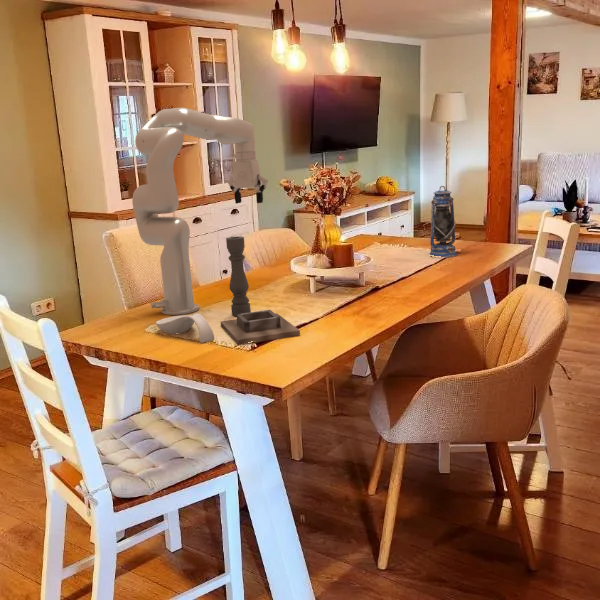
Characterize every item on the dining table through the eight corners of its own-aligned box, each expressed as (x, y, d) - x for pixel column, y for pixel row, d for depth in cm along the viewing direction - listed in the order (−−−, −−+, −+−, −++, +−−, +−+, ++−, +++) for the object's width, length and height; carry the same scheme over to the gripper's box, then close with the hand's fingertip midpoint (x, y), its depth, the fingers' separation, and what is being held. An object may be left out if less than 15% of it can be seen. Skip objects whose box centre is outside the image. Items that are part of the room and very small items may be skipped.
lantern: (444, 251, 311) (443, 184, 304) (465, 254, 301) (465, 184, 294) (420, 256, 302) (418, 187, 295) (441, 259, 292) (440, 188, 285)
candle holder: (252, 312, 224) (246, 235, 219) (249, 317, 219) (242, 238, 213) (233, 312, 225) (227, 236, 219) (230, 317, 219) (223, 239, 213)
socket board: (238, 345, 190) (236, 329, 188) (220, 326, 210) (219, 311, 209) (300, 335, 195) (299, 320, 194) (277, 317, 215) (276, 303, 214)
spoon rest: (149, 332, 209) (147, 309, 207) (183, 324, 216) (181, 301, 215) (191, 347, 191) (188, 322, 190) (226, 337, 199) (224, 313, 197)
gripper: (220, 158, 258) (224, 204, 262) (259, 156, 250) (263, 203, 254) (232, 157, 265) (235, 202, 269) (270, 155, 256) (273, 201, 260)
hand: (249, 203), depth 261 cm, fingers open, 9 cm apart
